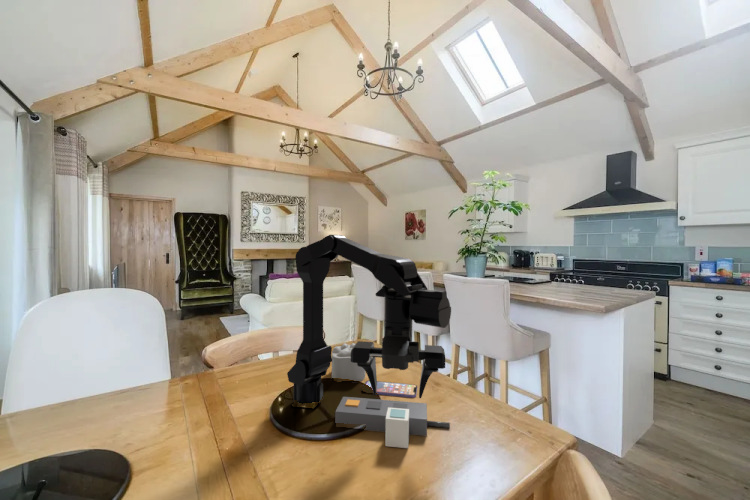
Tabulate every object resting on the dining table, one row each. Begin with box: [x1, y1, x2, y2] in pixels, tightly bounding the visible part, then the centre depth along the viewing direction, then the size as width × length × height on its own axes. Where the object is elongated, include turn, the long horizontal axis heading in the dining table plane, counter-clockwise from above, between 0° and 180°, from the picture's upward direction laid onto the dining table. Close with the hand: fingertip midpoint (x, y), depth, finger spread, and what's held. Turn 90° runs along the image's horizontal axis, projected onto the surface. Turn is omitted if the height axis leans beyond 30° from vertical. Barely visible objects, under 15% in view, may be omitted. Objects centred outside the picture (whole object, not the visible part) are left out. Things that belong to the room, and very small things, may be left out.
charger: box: [384, 407, 410, 449], centre depth 66 cm, size 4×7×6 cm
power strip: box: [334, 396, 451, 437], centre depth 72 cm, size 25×7×4 cm, turn 81°
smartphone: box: [364, 380, 418, 399], centre depth 89 cm, size 1×7×15 cm
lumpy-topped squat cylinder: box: [331, 342, 366, 382], centre depth 100 cm, size 10×13×9 cm
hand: (397, 395), depth 65 cm, fingers open, 9 cm apart
